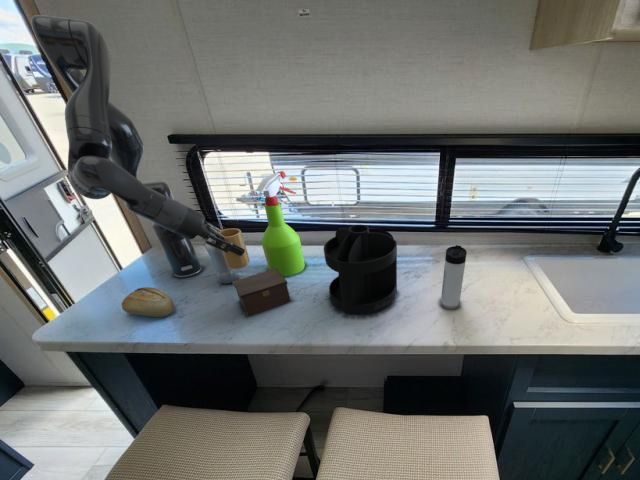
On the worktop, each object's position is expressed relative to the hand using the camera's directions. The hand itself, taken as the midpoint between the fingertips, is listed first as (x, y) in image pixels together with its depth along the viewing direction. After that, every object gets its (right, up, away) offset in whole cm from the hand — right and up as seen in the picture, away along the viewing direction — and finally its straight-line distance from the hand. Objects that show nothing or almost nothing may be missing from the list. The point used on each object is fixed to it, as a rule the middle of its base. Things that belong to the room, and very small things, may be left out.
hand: (239, 248), depth 93 cm
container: (+35, -15, +15) cm, 41 cm away
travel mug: (+64, -17, +13) cm, 68 cm away
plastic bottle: (-16, -8, +23) cm, 29 cm away
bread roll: (-32, -19, +8) cm, 38 cm away
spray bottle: (+4, -2, +33) cm, 33 cm away
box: (+2, -16, +13) cm, 20 cm away
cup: (-1, -4, +2) cm, 5 cm away
